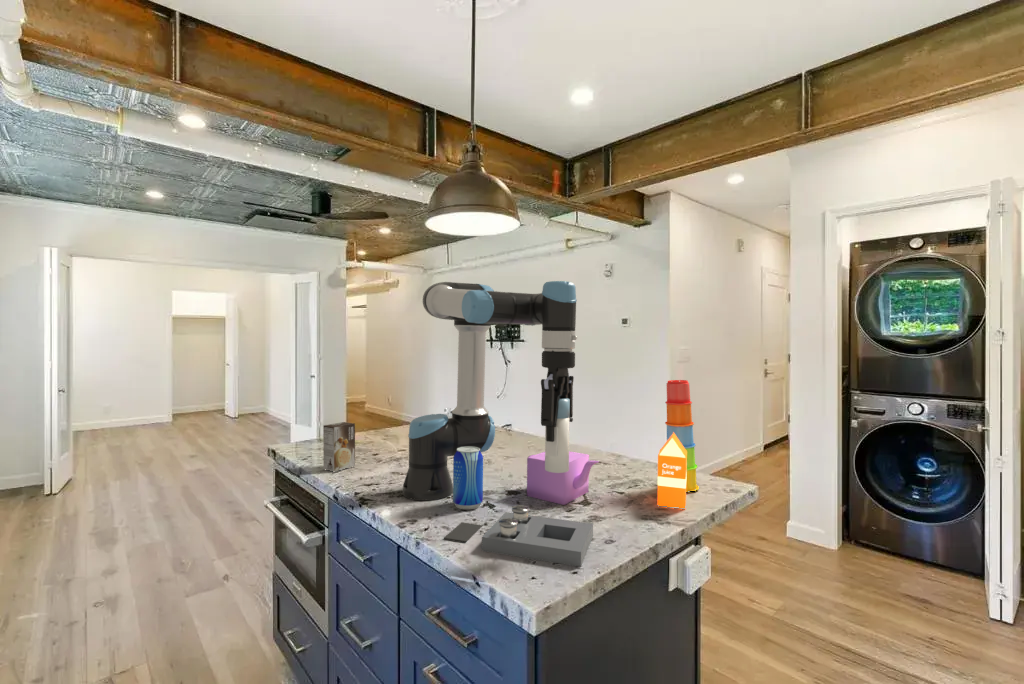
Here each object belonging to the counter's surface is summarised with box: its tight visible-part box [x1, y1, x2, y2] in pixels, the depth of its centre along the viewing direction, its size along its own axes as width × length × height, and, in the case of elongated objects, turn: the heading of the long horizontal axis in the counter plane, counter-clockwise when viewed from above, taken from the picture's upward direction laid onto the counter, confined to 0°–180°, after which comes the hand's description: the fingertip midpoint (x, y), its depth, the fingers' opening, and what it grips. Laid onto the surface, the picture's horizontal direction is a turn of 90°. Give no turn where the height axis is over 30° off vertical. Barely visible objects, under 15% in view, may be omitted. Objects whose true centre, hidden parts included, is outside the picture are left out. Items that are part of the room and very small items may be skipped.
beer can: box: [452, 446, 484, 510], centre depth 134 cm, size 8×8×16 cm
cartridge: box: [544, 398, 570, 473], centre depth 107 cm, size 5×5×16 cm
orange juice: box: [656, 432, 687, 509], centre depth 137 cm, size 8×9×20 cm
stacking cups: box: [664, 379, 700, 493], centre depth 151 cm, size 10×10×35 cm
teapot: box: [526, 450, 600, 506], centre depth 144 cm, size 15×25×14 cm, turn 54°
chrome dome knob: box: [499, 518, 518, 539], centre depth 106 cm, size 4×4×4 cm
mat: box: [443, 521, 484, 544], centre depth 114 cm, size 10×10×1 cm
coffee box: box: [322, 421, 356, 472], centre depth 170 cm, size 9×6×16 cm
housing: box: [481, 511, 594, 568], centre depth 108 cm, size 22×16×4 cm
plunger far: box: [511, 504, 530, 524], centre depth 114 cm, size 4×4×4 cm
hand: (557, 452), depth 107 cm, fingers closed on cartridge, 5 cm apart
